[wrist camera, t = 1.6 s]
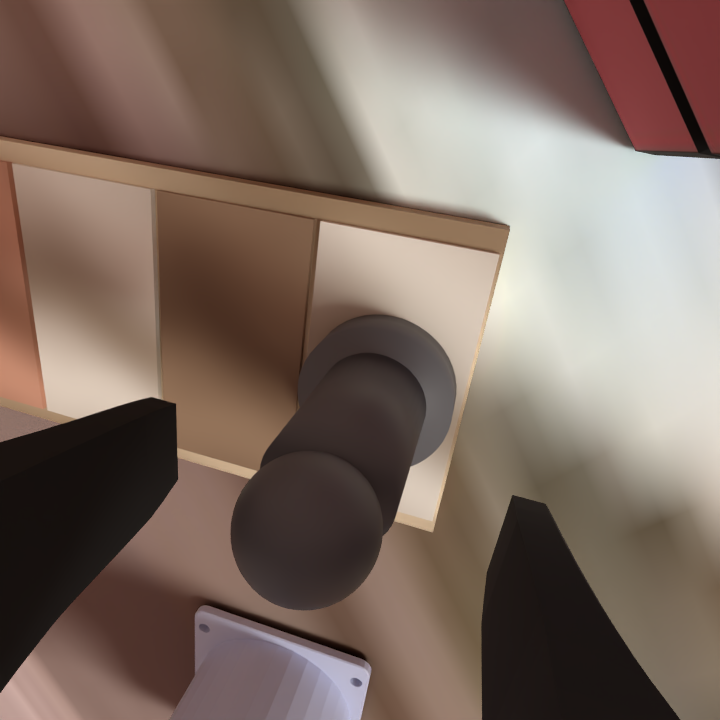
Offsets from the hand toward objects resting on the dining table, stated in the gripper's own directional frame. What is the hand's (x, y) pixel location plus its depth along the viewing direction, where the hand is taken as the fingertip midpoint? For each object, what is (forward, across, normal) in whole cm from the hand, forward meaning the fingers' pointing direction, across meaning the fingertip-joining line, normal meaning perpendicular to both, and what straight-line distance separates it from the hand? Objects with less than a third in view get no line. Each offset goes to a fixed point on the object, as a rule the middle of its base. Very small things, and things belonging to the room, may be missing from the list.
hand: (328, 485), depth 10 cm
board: (+6, +10, 0) cm, 12 cm away
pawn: (+5, 0, 0) cm, 5 cm away
